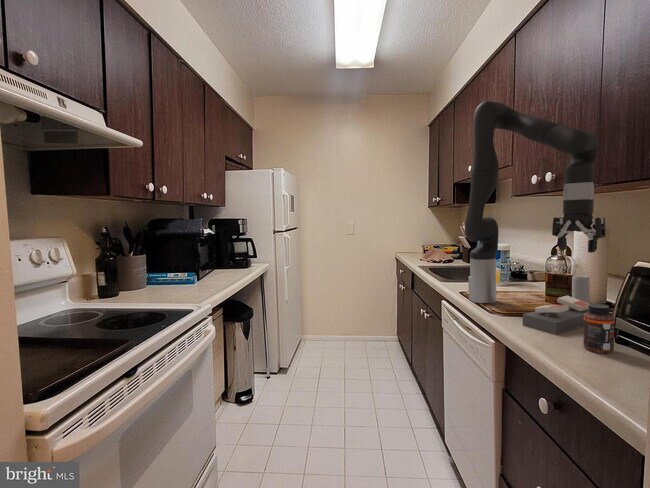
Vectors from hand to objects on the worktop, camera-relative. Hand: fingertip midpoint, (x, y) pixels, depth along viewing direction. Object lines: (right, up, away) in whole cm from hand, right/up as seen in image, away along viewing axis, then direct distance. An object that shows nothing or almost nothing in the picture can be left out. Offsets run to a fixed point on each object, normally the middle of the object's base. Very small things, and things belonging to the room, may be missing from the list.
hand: (576, 250), depth 105 cm
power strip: (-5, -22, 0) cm, 23 cm away
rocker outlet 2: (0, -17, +2) cm, 17 cm away
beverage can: (+10, -21, +11) cm, 26 cm away
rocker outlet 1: (-10, -18, -2) cm, 20 cm away
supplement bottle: (-10, -25, -20) cm, 33 cm away
